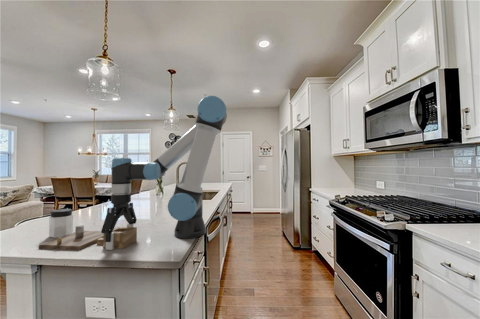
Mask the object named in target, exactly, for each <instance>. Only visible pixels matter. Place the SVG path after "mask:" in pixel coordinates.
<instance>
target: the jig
mask: <svg viewBox="0 0 480 319" xmlns="http://www.w3.org/2000/svg"><path fill="white" fill-rule="evenodd" d="M100 238H104V233H101V230H85V225H76V226H75V232H73V233H71V234H68V235H65V236H63V237H58V238H53V239H52V240H48V241H46V242H43V243H40V244H38V249H41V250H42V249H43V250H44V249H47V250H69V251H81V250H83V249H86V248H87V247H90V246H92V245H94V244H97V239H100Z"/></svg>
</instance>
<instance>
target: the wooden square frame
mask: <svg viewBox="0 0 480 319" xmlns="http://www.w3.org/2000/svg"><path fill="white" fill-rule="evenodd" d="M137 228H138V227H136V226H133V227H127V226H117V227H116V226H115V227H114V229H113V231H112V233H114V240H113V249H126V248H128V247H129V246H131V245H132V244H134V243H136V242H137V241H138V240H137V239H138V238H137V237H138V235H137V234H138V232H137V231H138V229H137ZM96 245H103V246H102V247H103V248H104V249H106V241H105V233H104V238H100V239H97V242H96Z"/></svg>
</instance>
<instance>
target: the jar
mask: <svg viewBox="0 0 480 319" xmlns="http://www.w3.org/2000/svg"><path fill="white" fill-rule="evenodd" d="M48 220H49V225H48V237H49V238H51V239H52V238H53V239H57V238H59V237H63V236H65V235H68V234H71V233H74V232H73V230H74V228H73V227H74V226H73V225H74V214H73V209H71V208H61V209H53V210H51V211H50V216H49V219H48Z"/></svg>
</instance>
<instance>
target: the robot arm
mask: <svg viewBox="0 0 480 319" xmlns="http://www.w3.org/2000/svg"><path fill="white" fill-rule="evenodd" d="M226 121H227V107H226V104H225V102H224V101H223V100H222V98H221V97H218V96H217V95H208V96H205V97H203V98H202V99H201V100H200V101H199V102H198V105H197V115H196V118H195V121H194V122H195V123H194V125H193V127H191V128H189V130H188V131H187V132H186V133H185V134H183V135H182V136H181V137H180V138H179V139H177V140H176V142H174V143H173V144H172V145H170V147H168V148H167V149H166V150H165V151H164V152H163V153H161V154H160V155H159V156H158V157H157V158H156V159H155V160H154V161H152V162H151V161H150V162H149V161H148V162H134V161H133V160H132V158H130V157H114V158H113V159H112V161H111V167H110V168H111V187H110V188H111V189H110V191H111V192H110V193H111V196H110V204H112V206H113V207H107V210H106V216H105V218H104V222H103V225H102V226H101V230H100V231H101V233H105V241H106V248H105V250H106V251H113V250H114V248H113V240H114V233H112V231H113V229H114V228H116V225H117V223H118V220H119V219H120V218H121V217H124V219H125V220H126V223H127V224H126V227H134V225H135V224H136V223H137V216H136V213H135V209H134V203H133V202H132V201H131V200H132V194H131V192H132V181H136V180H138V181H140V180H141V181H154V180H155V181H156V180H158V179H160V178H162V177H163V176H164V175H165V174H166V172H167V171H168V170H169V169H170V168H171V167H173V166H174V165H175V164H176V163H178V161H179V160H181V159H182V158H183V157H184V156H185V155H187V153H189V154H188V157H187V161H186V164H185V168H184V171H183V174H182V178H181V180H180V182H178V183H176V186H175V188H174V192H173V195H172V196H171V197H170V198H169V200H168V202H167V210H168V213H169V215H170V216H171V217H172V218H173V219H174V220H177V222H176V224H175V228H174V233H173V234H174V237H176V238H178V239H179V238H180V239H195V238H199V237H203V236H205V235H206V234H207V226H206V224H205V222H204V221H205V220H204V218H203V213H204V212H203V198H204V197H203V194H204V192H203V187H202V182H203V179H204V176H205V173H206V170H207V166H208V163H209V161H210V156H211V153H212V151H213V146H214V143H215V140H216V136H217V135H218V134H220V133H221V131H222V129H223V126H224V124H225V123H226Z"/></svg>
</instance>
